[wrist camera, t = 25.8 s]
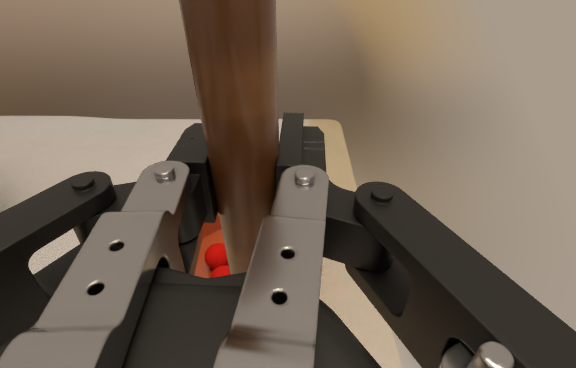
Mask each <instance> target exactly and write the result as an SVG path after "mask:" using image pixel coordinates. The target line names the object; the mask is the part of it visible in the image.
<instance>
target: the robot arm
mask: <svg viewBox="0 0 576 368" xmlns="http://www.w3.org/2000/svg"><path fill="white" fill-rule="evenodd" d="M303 117H304V113H284V115H283V121H282V128H281V134H280V141H279V154H278V156H277V161H276V196H275V199H274V203H273V206H272V210H271V214H270V215H268V214H265V215H264V217H263V220H262V224H261V227H260V230H259V234H258V237H257V240H256V244H255V247H254V250H253V254H252V257H251V260H250V264H249V267H248V271H247V272H244V273H238V274H232V275H225V276H219V277H213V278H202V277H198V276H195V275H194V274H195V270H196V265H197V261H198V257H199V252H200V248H201V243H202V233H201V229H202V226H203V223H215V221H216V218H217V215H218V207H217V201H216V196H215V191H214V185H213V180H212V175H211V169H210V164H209V159H208V153H207V148H206V143H205V137H204V132H203V127H202V123H195V124H193V125H192V126H190V127H188V128H187V129H185V131H184V132H183V134H182V135H181V137H180V139H179V140H178V142H177V143H176V144H177V145H175V147H174V148H173V150H172V152H171V153H170V155H169V156H168V158H167V160H166V161H162V162H158V163H155V164H153V165H150V166H149V167H147V168H146V169H144V170H143V171H142V173H141V175H140V176H139V178H138V180H137V182H132V183H126V184H120V185H113V184H112V181H111V178H110V176H109V175H108V174H106V173H103V172H96V171H94V172H85V173H81V174H77V175H75V176H72V177H70V178H68V179H66V180H64V181H62V182H60V183H58V184H56V185H54V186H52V187H50V188H48V189H46V190H44V191H42V192H40V193H38V194H37V195H35V196H33V197H31V198H29V199H27V200H25V201H23V202H21V203H19V204H17V205H15V206H13V207H11V208H9V209H7V210H5V211H3V212H1V213H0V368H381V366H380V365H379V364H378V363H377V362H376V361H375V359H374V358H373V357H372V356H371V355H370V353H369V352H368V351H367V350H366V349H365V348H364V346H363V345H362V344H361V343H360V342H359V340H358V339H357V338H356V337H355V336H354V335H353V333H352V332H351V331H350V330H349V329H348V328H347V326H346V325H345V324H344V323H343V322H342V320H341V319H340V318H339V317H338V316H337V315H336V314H335V312H334V311H333V310H332V309H331V308H329V307H328V306H327V305H326V304H325V303H324V302H323V301H321V300H320V299H319V296H320V284H321V272H322V260H323V257H325V258H328V259H331V260H335V261H338V262H341V263H344V264H345V267H346V270H347V272H348V273H349V275H350V276H351V277H352V278H353V280H354V281H355V282H356V284H357V285H358V286H359V287H360V289H361V290H362V291H363V293H364V294H365V295H366V296H367V298H368V299H369V300H370V302H371V303H372V304H373V305H374V307H375V308H376V309H377V311H378V312H379V313H380V314H381V316H382V317H383V318H384V320H385V321H386V322H387V323H388V325H389V326H390V327H391V329H392V330H393V331H394V332H395V334H396V335H397V336H398V338H399V339H400V340H401V341H402V343H403V344H404V345H405V346H406V348H407V349H408V350H409V352H410V353H411V354H412V355H413V357H414V358H415V359H416V361H417V362H418V363H419V364H420V366H421V367H422V368H576V332H575V331H574V330H573V329H572V328H571V327H569V326H568V325H567V324H566V323H564V322H563V321H562V320H561V319H559V318H558V317H557V316H556V315H555V314H553V313H552V312H551V311H550V310H548V309H547V308H546V307H545V306H544V305H542V304H541V303H540V302H539V301H537V300H536V299H535V298H534V297H533V296H531V295H530V294H529V293H528V292H526V291H525V290H524V289H523V288H521V287H520V286H519V285H518V284H516V283H515V282H514V281H513V280H511V279H510V278H509V277H508V276H507V275H506V274H504V273H503V272H502V271H501V270H499V269H498V268H497V267H496V266H494V265H493V264H492V263H491V262H489V261H488V260H487V259H486V258H485V257H483V256H482V255H481V254H480V253H479V252H477V251H476V250H475V249H474V248H472V247H471V246H470V245H469V244H467V243H466V242H465V241H464V240H462V239H461V238H460V237H459V236H458V235H456V234H455V233H454V232H453V231H451V230H450V229H449V228H448V227H446V226H445V225H444V224H443V223H442V222H440V221H439V220H438V219H437V218H436V217H434V216H433V215H432V214H431V213H429V212H428V211H427V210H426V209H424V208H423V207H422V206H421V205H419V204H418V203H417V202H416V201H415V200H413V199H412V198H411V197H410V196H408V195H407V194H406V193H405V192H403V191H402V190H401V189H400V188H398V187H396V186H394V185H392V184H389V183H384V182H368V183H365V184H362V185H361V186H359V187H358V188H357V190H356V192H353V191H349V190H345V189H342V188H340V187H338V186H336V185H334V184H333V183H332V182H331V181H330V180H329V177H328V175H327V173H326V160H325V143H324V133H323V132H322V131H321V130H320V129H319V128H318V127H308V126H303ZM71 229H74V231H75V233H76V235H77V237H78V239H79V242H80V245H78V246H77V247H75V248H74V249H72V250H70V251H69V252H67V253H66V254H64V255H63V256H61V257H60V258H58V259H57V260H55V261H54V262H52V263H51V264H49V265H48V266H46V267H45V268H43V269H42V270H40V271H39V272H37V273H35V274H32V273H31V271H30V270H29V267H28V262H29V259H30V257H31V256H32V255H33V254H34V253H35V252H36V251H37V250H39V249H40V248H42V247H43V246H45V245H47V244H48V243H50V242H51V241H53V240H55V239H56V238H58V237H60V236H61V235H63V234H64V233H66V232H68V231H69V230H71Z"/></svg>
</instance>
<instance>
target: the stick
mask: <svg viewBox="0 0 576 368" xmlns="http://www.w3.org/2000/svg"><path fill="white" fill-rule="evenodd" d="M179 3H180V9H181V14H182V19H183V25H184V30H185V36H186V41H187V47H188V52H189V57H190V63H191V67H192V73H193V79H194V84H195V89H196V95H197V99H198V105H199V110H200V116H201V121H202V127H203V132H204V137H205V143H206V148H207V153H208V159H209V164H210V169H211V175H212V180H213V185H214V191H215V196H216V201H217V207H218V212H219V217H220V223H221V228H222V233H223V239H224V244H225V249H226V255H227V260H228V265H229V271H230V275H232V274H238V273H244V272H247V271H248V267H249V264H250V260H251V257H252V254H253V250H254V247H255V244H256V240H257V237H258V234H259V230H260V227H261V224H262V220H263V217H264V215H265V214H268V215H270V214H271V210H272V206H273V203H274V199H275V196H276V161H277V156H278V154H279V126H278V82H277V36H276V0H179Z"/></svg>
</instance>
